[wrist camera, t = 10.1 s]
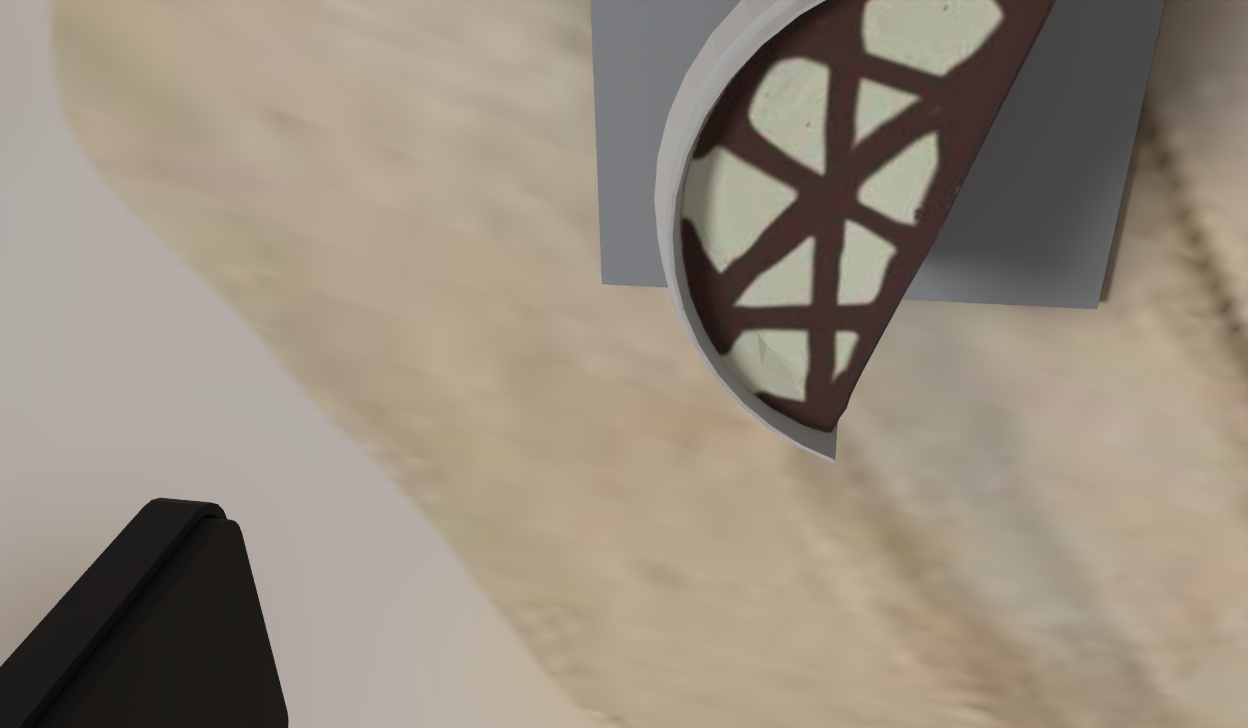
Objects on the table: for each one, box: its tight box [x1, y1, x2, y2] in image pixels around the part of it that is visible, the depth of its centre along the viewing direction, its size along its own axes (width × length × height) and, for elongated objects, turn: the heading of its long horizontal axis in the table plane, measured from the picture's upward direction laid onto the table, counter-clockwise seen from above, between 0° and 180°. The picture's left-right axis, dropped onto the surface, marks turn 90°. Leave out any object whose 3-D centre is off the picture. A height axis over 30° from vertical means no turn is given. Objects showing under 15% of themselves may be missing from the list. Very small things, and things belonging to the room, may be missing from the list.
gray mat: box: [591, 0, 1166, 309], centre depth 30 cm, size 14×15×1 cm
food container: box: [654, 0, 1056, 463], centre depth 25 cm, size 12×6×10 cm, turn 163°
